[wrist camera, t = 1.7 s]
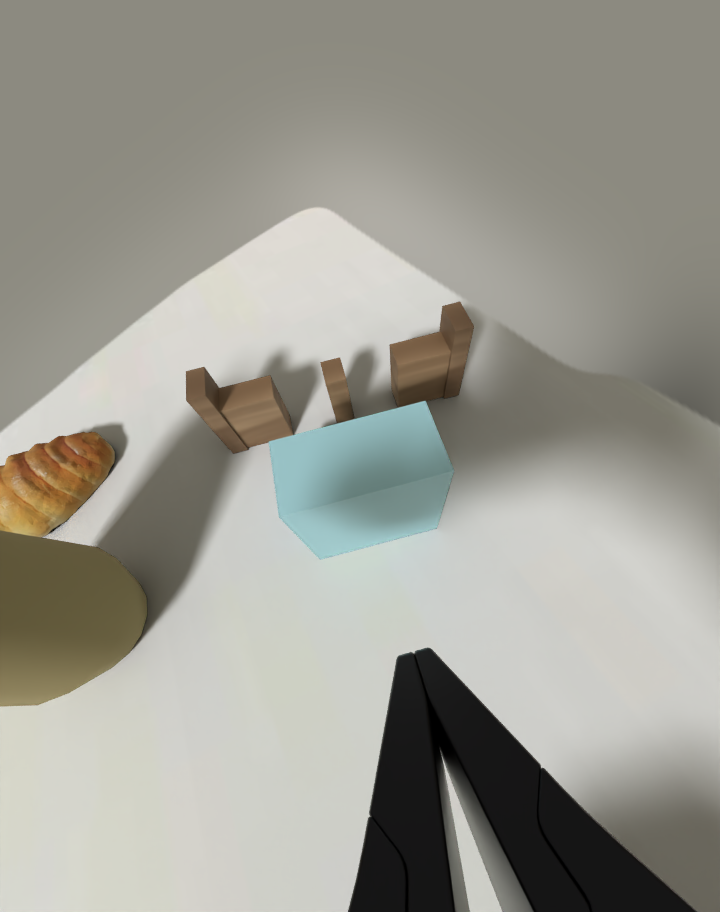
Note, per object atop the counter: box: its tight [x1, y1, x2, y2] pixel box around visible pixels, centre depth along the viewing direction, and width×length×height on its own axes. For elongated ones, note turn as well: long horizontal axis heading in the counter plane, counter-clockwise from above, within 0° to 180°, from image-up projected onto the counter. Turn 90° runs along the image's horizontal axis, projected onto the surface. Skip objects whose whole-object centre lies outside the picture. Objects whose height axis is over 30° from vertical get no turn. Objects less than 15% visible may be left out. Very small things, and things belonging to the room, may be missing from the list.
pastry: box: [0, 432, 115, 537], centre depth 27 cm, size 9×7×4 cm
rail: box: [186, 302, 474, 454], centre depth 26 cm, size 2×18×7 cm, turn 104°
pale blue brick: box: [269, 401, 454, 559], centre depth 22 cm, size 8×8×9 cm
